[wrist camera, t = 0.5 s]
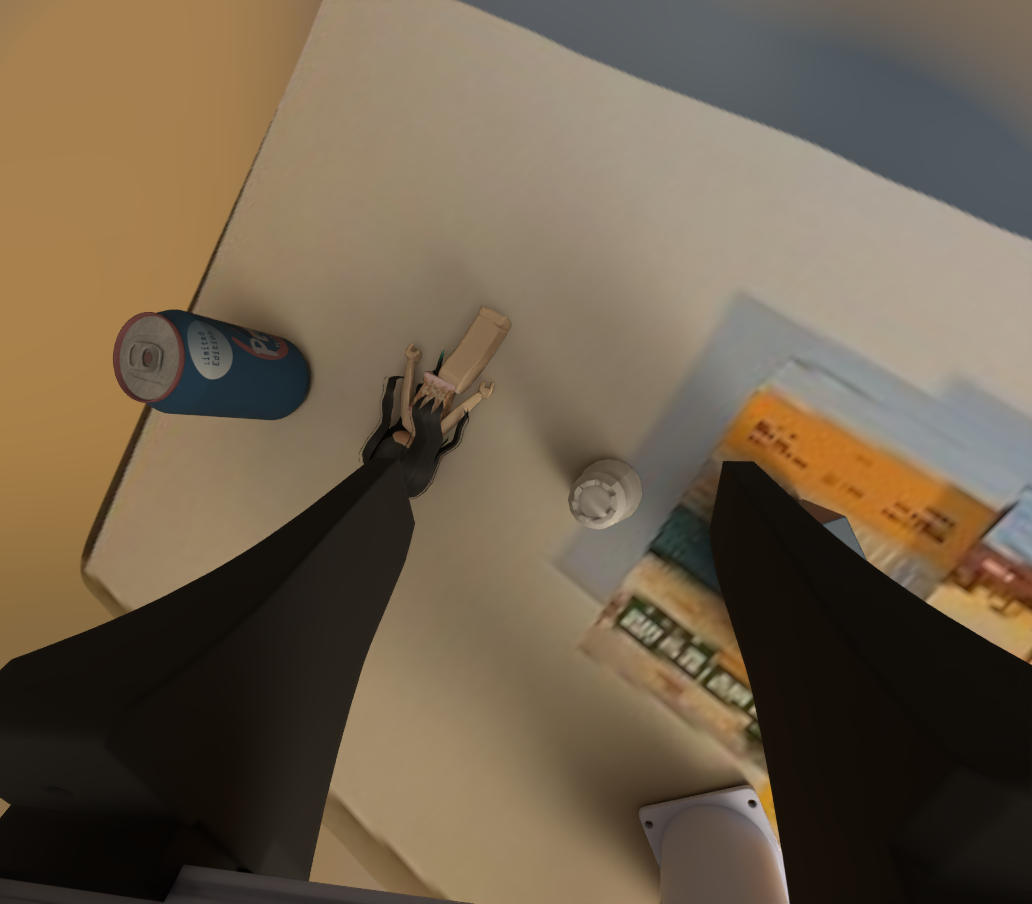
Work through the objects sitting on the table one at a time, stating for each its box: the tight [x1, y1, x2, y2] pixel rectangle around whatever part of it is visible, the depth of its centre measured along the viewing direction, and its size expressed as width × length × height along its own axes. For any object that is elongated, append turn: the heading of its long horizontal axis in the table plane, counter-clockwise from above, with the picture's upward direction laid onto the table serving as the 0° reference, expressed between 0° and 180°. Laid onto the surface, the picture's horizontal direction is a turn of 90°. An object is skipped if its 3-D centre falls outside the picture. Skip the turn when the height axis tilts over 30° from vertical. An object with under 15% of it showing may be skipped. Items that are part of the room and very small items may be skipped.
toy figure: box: [359, 306, 511, 499], centre depth 36 cm, size 7×6×15 cm
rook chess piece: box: [568, 459, 642, 529], centre depth 32 cm, size 4×4×8 cm
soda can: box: [113, 310, 311, 420], centre depth 38 cm, size 7×7×12 cm
